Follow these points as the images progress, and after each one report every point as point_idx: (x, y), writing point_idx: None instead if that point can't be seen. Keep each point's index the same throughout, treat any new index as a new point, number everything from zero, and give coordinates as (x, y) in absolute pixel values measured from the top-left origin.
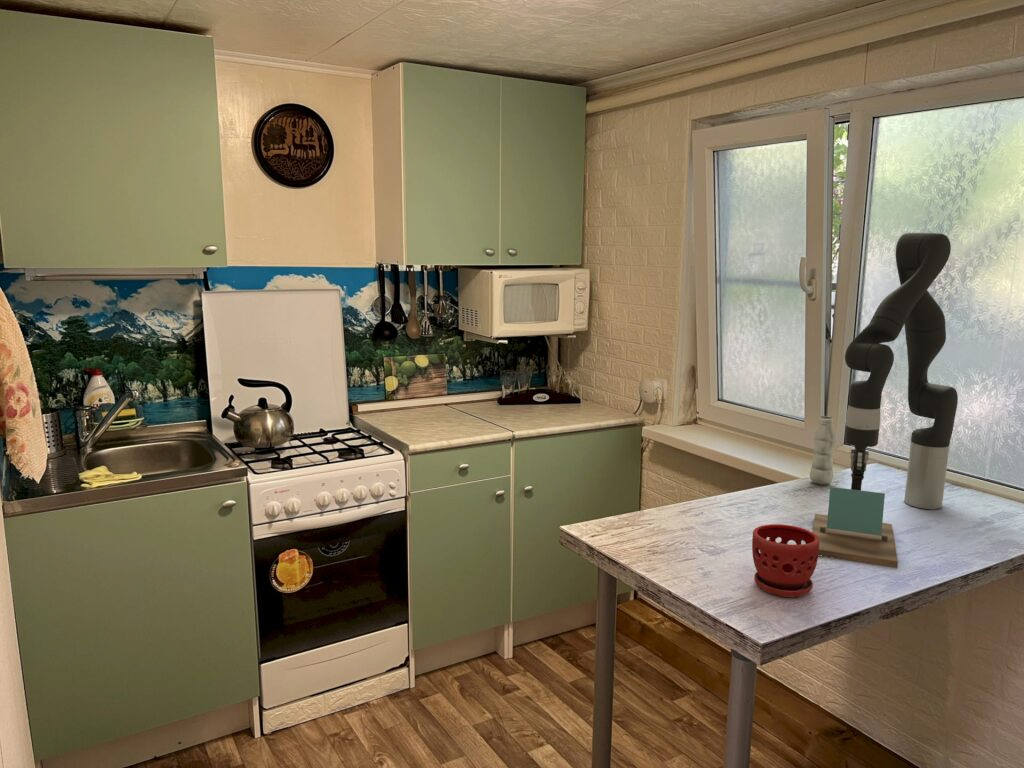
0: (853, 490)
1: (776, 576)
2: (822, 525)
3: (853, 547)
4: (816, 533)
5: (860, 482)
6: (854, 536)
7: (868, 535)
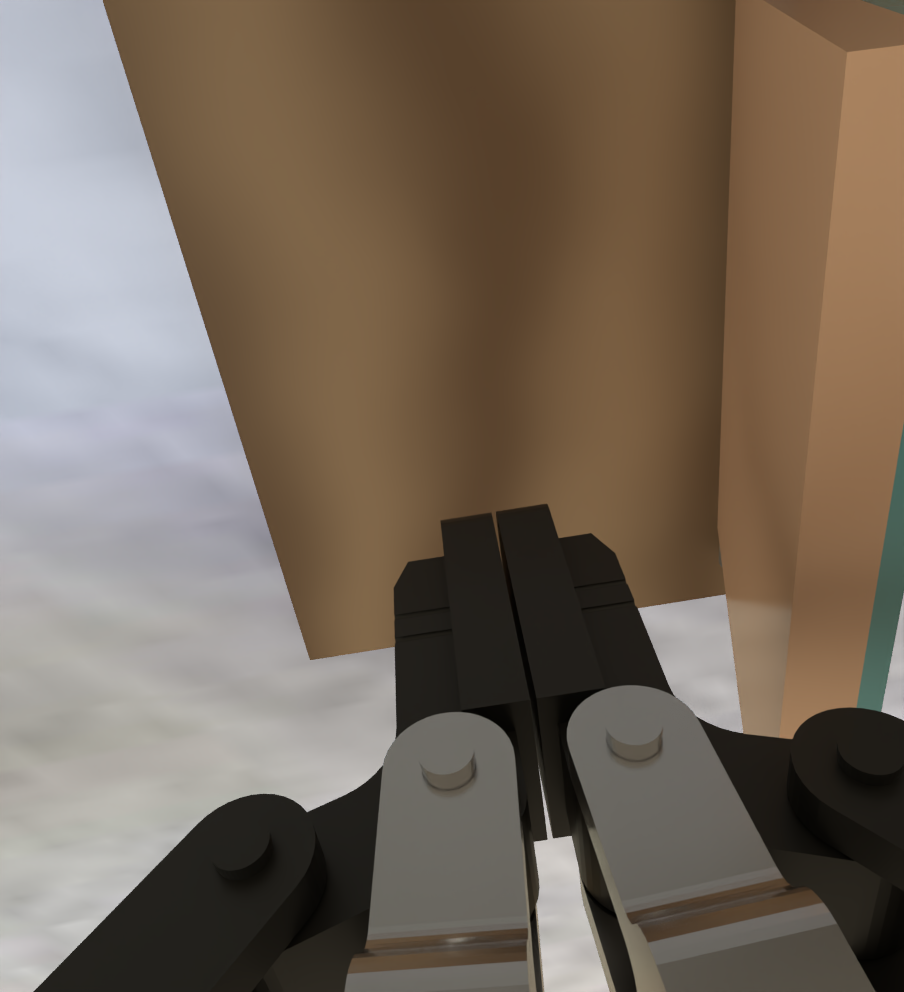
0: (883, 646)
1: None
2: None
3: None
4: None
5: (589, 663)
6: None
7: (670, 138)
